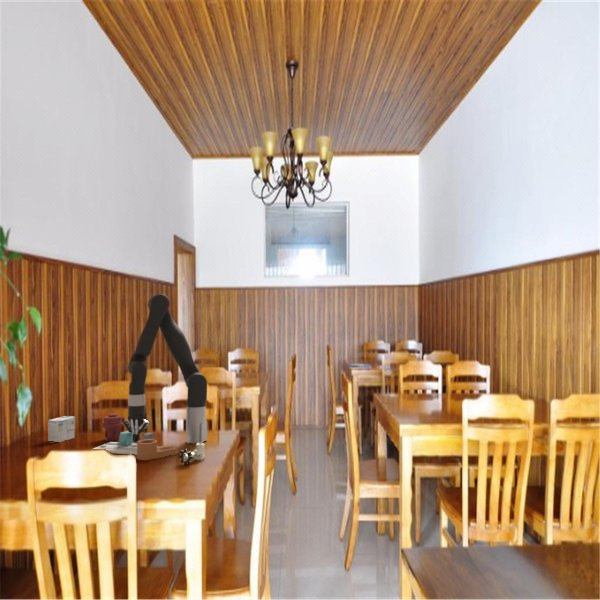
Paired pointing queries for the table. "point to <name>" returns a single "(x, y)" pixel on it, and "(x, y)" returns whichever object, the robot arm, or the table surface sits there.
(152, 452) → the bracket
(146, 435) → the fixed leg
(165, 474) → the table surface
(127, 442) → the sliding leg
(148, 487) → the table surface
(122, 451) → the gauge board
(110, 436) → the mechanical component
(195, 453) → the valve
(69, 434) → the light bulb box
